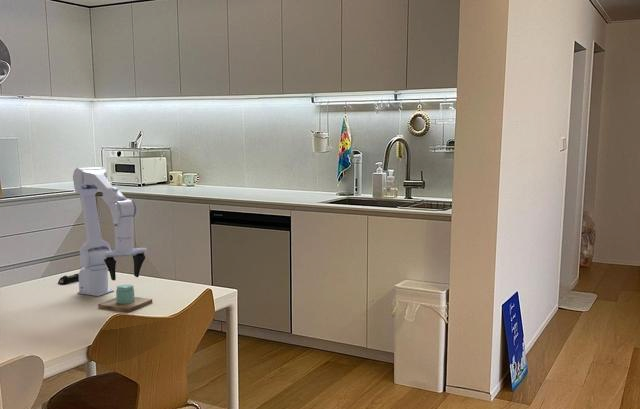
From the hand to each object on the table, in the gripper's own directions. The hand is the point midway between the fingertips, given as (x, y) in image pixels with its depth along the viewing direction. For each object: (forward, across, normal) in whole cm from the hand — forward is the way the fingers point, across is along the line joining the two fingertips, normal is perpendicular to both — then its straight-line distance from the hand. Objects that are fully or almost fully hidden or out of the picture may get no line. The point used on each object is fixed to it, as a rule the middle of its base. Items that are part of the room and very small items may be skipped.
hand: (125, 278), depth 197 cm
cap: (+8, 0, 0) cm, 8 cm away
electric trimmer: (+10, -3, +42) cm, 43 cm away
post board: (+9, 0, 0) cm, 9 cm away
